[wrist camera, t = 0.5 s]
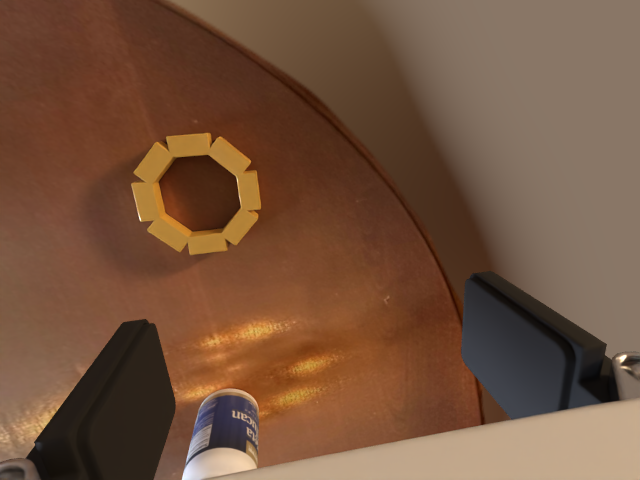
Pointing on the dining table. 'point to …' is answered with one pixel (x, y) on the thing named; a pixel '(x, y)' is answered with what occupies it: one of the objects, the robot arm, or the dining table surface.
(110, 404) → the robot arm
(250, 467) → the pill bottle
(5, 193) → the dining table surface
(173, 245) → the ring
